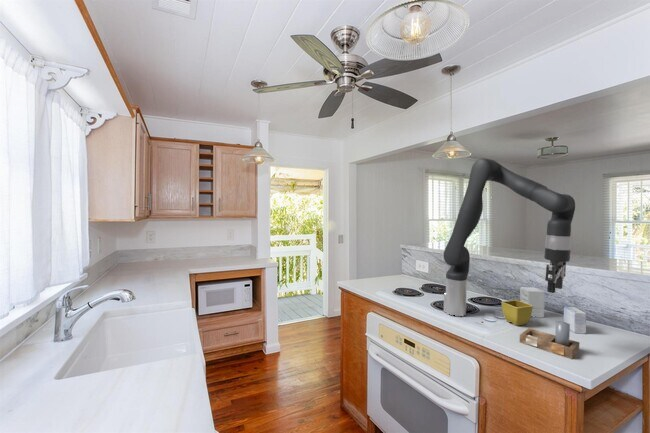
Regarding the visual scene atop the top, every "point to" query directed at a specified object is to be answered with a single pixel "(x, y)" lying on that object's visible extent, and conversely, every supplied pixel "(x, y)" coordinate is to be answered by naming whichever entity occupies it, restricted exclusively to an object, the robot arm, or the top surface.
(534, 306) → the supplement box
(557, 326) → the plug
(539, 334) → the socket block
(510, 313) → the flower pot
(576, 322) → the medicine box
